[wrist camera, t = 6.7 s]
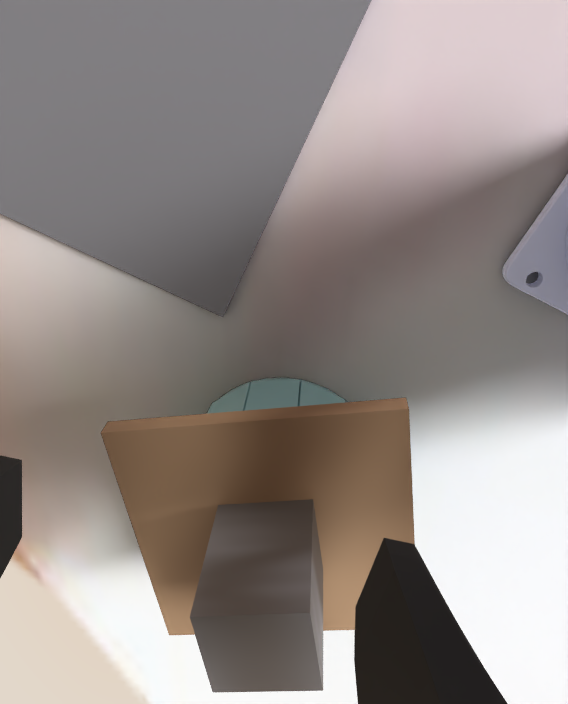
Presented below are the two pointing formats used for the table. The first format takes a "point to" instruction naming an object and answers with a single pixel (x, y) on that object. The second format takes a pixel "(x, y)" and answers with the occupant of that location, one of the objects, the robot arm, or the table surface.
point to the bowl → (274, 395)
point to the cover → (264, 527)
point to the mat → (162, 126)
